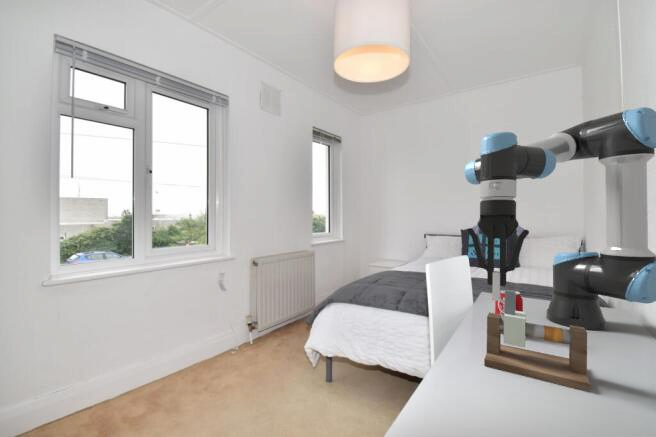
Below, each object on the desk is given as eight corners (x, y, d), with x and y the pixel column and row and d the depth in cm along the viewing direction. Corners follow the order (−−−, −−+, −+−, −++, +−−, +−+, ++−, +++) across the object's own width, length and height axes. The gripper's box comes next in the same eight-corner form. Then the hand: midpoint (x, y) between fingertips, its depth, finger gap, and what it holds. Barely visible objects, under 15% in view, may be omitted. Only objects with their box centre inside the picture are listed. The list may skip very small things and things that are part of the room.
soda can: (526, 338, 86) (527, 295, 86) (499, 335, 87) (499, 293, 88) (516, 329, 93) (517, 289, 93) (491, 327, 94) (491, 288, 94)
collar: (505, 335, 74) (506, 288, 74) (525, 338, 72) (526, 290, 72) (503, 343, 69) (504, 293, 69) (524, 347, 67) (525, 295, 67)
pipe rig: (490, 348, 78) (491, 308, 79) (581, 367, 68) (581, 322, 69) (484, 365, 68) (484, 320, 69) (589, 391, 58) (590, 339, 59)
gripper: (465, 199, 74) (463, 298, 73) (530, 197, 66) (529, 307, 66) (470, 201, 80) (469, 292, 80) (530, 200, 73) (529, 300, 72)
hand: (496, 299), depth 73 cm, fingers closed
